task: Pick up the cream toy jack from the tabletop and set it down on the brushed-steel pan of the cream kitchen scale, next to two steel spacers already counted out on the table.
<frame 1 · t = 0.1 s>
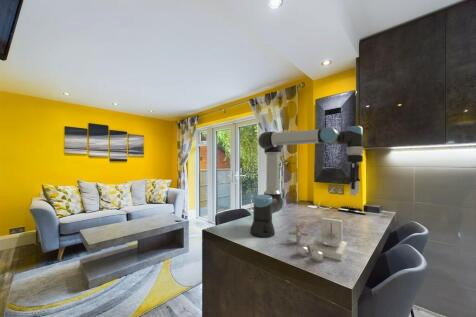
hand: (354, 193, 108), 28 cm above the table, fingers open, 13 cm apart
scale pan: (328, 239, 101), point 6 cm above the table, slide at -0.4 cm
cream toy jack: (298, 242, 111), on the table
spacer b: (317, 260, 91), on the table
spacer a: (302, 255, 96), on the table
scale base: (329, 250, 102), on the table
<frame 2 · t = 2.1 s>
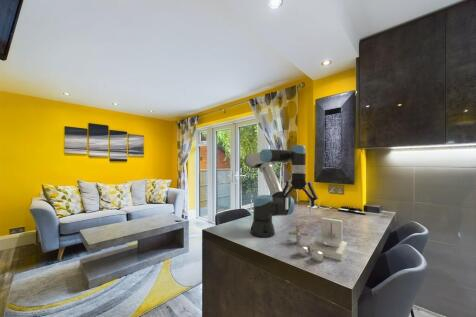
hand: (298, 210, 111), 18 cm above the table, fingers open, 13 cm apart
nothing on the table moved.
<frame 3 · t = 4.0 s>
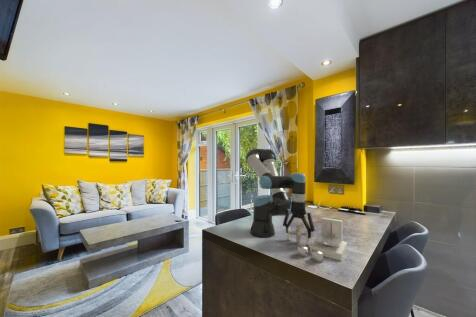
hand: (298, 241, 111), 1 cm above the table, fingers closed on cream toy jack, 10 cm apart
cream toy jack: (298, 242, 111), on the table, touching gripper
everything else where it was.
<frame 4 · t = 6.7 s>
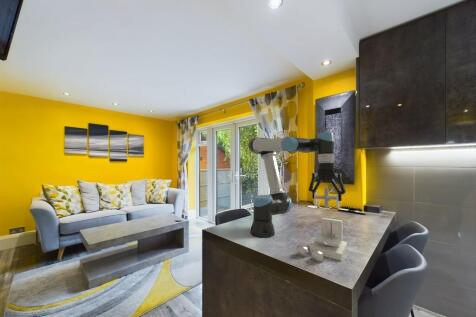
hand: (326, 206, 102), 22 cm above the table, fingers closed on cream toy jack, 10 cm apart
cream toy jack: (326, 208, 102), point 21 cm above the table, touching gripper
everything else where it was.
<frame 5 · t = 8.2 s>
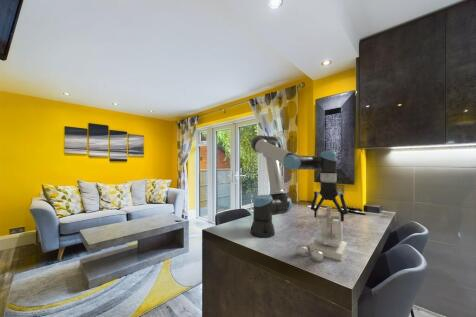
hand: (328, 225, 101), 13 cm above the table, fingers closed on cream toy jack, 10 cm apart
cream toy jack: (328, 227, 101), point 12 cm above the table, touching gripper
everything else where it was.
when the fingers open (8 cm above the table, at t = 9.5 s): cream toy jack drops 2 cm, resting on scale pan.
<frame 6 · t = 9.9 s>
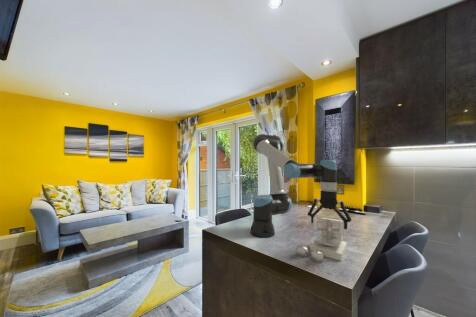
hand: (328, 232, 101), 9 cm above the table, fingers open, 13 cm apart
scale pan: (328, 240, 101), point 5 cm above the table, slide at -0.7 cm, touching cream toy jack
cream toy jack: (328, 239, 101), point 6 cm above the table, touching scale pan
everything else where it was.
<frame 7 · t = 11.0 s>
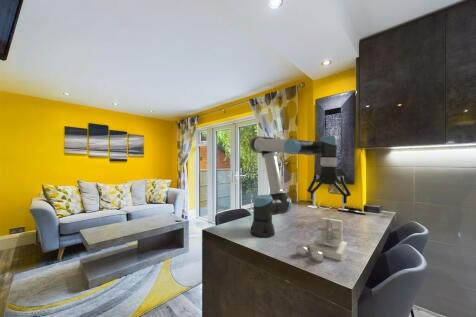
hand: (327, 207, 102), 22 cm above the table, fingers open, 13 cm apart
nothing on the table moved.
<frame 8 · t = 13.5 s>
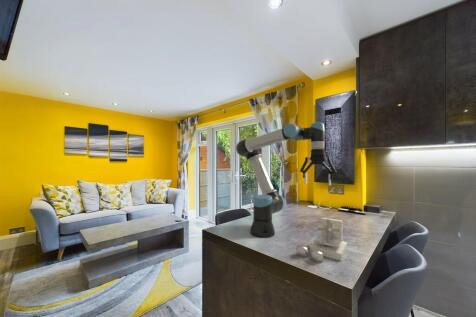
hand: (317, 184, 119), 32 cm above the table, fingers open, 13 cm apart
nothing on the table moved.
at the end: cream toy jack inside the target area on the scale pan (0.0 cm from its centre), point 6.3 cm above the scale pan's base; cream toy jack touching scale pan; the gripper is holding nothing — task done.
